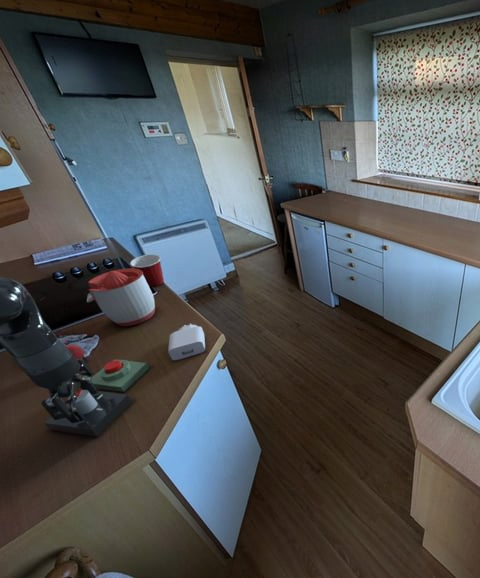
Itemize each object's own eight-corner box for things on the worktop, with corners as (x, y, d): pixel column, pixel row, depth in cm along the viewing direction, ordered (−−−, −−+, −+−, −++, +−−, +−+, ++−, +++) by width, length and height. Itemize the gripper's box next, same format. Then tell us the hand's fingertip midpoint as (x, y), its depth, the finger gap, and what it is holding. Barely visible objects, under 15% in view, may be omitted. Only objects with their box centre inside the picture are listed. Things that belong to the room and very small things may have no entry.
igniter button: (103, 373, 83) (100, 368, 82) (114, 363, 86) (112, 359, 85) (114, 374, 83) (111, 370, 82) (125, 365, 86) (123, 360, 85)
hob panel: (50, 430, 72) (43, 422, 70) (90, 396, 81) (84, 388, 79) (97, 436, 71) (90, 429, 69) (132, 401, 79) (127, 394, 78)
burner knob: (94, 411, 73) (84, 399, 71) (74, 417, 72) (62, 404, 69) (100, 399, 76) (90, 386, 74) (80, 404, 75) (70, 392, 72)
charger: (204, 325, 107) (205, 351, 96) (174, 333, 103) (173, 361, 92) (200, 315, 104) (201, 340, 93) (169, 323, 100) (167, 350, 89)
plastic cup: (143, 292, 125) (131, 267, 119) (140, 282, 132) (127, 259, 125) (173, 283, 131) (162, 260, 125) (167, 275, 138) (157, 251, 132)
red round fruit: (93, 360, 92) (79, 341, 87) (70, 373, 87) (54, 354, 83) (83, 354, 94) (69, 336, 90) (60, 367, 89) (44, 347, 85)
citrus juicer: (103, 317, 110) (73, 271, 99) (157, 300, 120) (136, 256, 109) (105, 338, 100) (73, 289, 90) (164, 318, 110) (141, 272, 99)
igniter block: (89, 387, 83) (81, 378, 81) (117, 364, 91) (111, 355, 88) (124, 392, 82) (117, 382, 80) (149, 368, 89) (144, 358, 87)
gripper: (53, 379, 61) (93, 425, 70) (82, 336, 72) (114, 381, 81) (5, 390, 58) (53, 436, 67) (42, 344, 69) (79, 389, 78)
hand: (86, 406), depth 74 cm, fingers open, 8 cm apart
